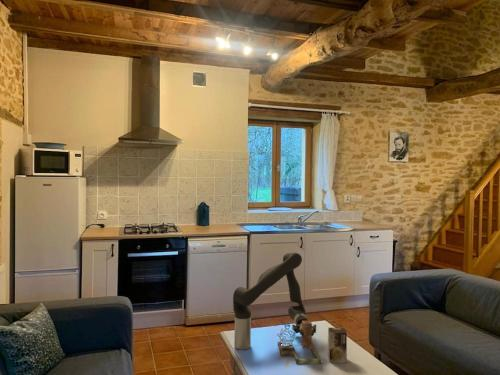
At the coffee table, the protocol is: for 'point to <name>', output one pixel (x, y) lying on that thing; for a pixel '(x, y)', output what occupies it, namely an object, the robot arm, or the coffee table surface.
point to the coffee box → (337, 345)
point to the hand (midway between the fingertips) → (307, 334)
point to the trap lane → (288, 352)
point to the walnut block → (307, 334)
